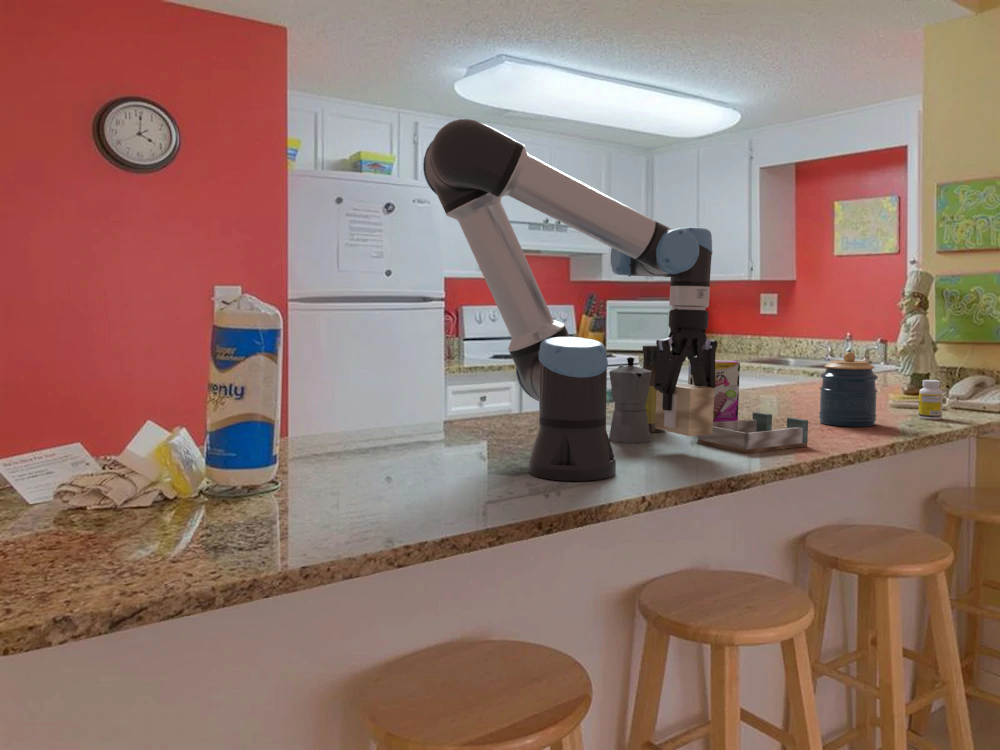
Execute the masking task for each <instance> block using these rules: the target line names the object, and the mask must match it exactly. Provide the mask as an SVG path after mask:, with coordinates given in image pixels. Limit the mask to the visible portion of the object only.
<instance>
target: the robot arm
mask: <svg viewBox="0 0 1000 750" xmlns="http://www.w3.org/2000/svg"><path fill="white" fill-rule="evenodd" d="M422 165H423V166H422V169H423V175H424V179H425V181H426V184H427V186H428V187H429V188H430V190H431V191H432V192H433V193H434V194H435V195H436V196H437V198H438V201H439V202H440V204H441V206H442V208H443V210H444V213H445V214H446V216H447V217H448V218H452V219H454V220H456V221H458V223H459V226H460V228H461V229H462V231H463V232H462V233H463V234H464V237H465V239H466V241H467V243H468V245H469V247H470V250H471V252H472V254H473V256H474V258H475V261H476V263H477V265H478V268H479V270H480V271H481V274H482V277H483V278H484V280H485V282H486V285H487V287H488V289H489V291H490V293H491V296H492V298H493V300H494V303H495V305H496V307H497V309H498V312H499V313H500V315H501V318H502V320H503V322H504V324H505V326H506V328H507V332H508V333H509V335H510V337H511V339H510V342H509V345H508V352H509V355H510V357H511V359H512V361H513V363H514V365H515V372H516V377H517V381H518V384H519V385H520V388H521V389H522V390H523V391H524V392H525V394H527V395H528V396H529V397H530V398H532V399H534V400H535V401H538V403H539V406H538V408H539V409H538V415H539V416H538V421H539V425H538V431H537V434H536V438H535V441H534V444H533V447H532V450H531V453H530V456H529V460H528V471H529V474H530V475H532V476H534V477H537V478H541V479H544V480H545V479H546V480H551V481H553V480H554V481H561V482H562V481H564V482H566V481H567V482H583V481H585V482H586V481H588V482H589V481H597V480H599V481H600V480H604V479H609V478H611V477H614V476H615V475H616V472H617V469H616V468H617V465H616V464H617V461H616V458H615V454H614V450H613V447H612V444H611V441H610V440H609V435H608V432H607V385H608V384H607V381H608V379H607V378H608V372H607V371H608V366H609V362H608V357H607V348H606V346H605V345H604V344H603V343H602V342H600V341H598V340H596V339H592V338H585V337H577V336H570V334H569V332H568V329H567V328H566V325H565V323H563V322H560V321H558V320H556V319H554V318H553V315H552V313H551V311H550V309H549V307H548V304H547V302H546V299H545V297H544V296H543V293H542V292H541V289H540V286H539V285H538V282H537V279H536V278H535V276H534V273H533V270H532V268H531V266H530V264H529V262H528V259H527V257H526V255H525V253H524V251H523V249H522V247H521V246H522V245H520V241H519V240H518V237H517V235H516V232H515V230H514V229H513V226H512V224H511V222H510V219H509V217H508V214H507V212H506V210H505V207H504V206H503V203H502V197H505V196H507V197H511V198H512V199H515V200H516V201H519V202H520V203H523V204H524V205H526V206H528V207H531V208H532V209H534V210H537V211H539V212H540V213H542V214H544V215H546V216H548V217H550V218H552V219H554V220H556V221H559V222H560V223H562V224H564V225H566V226H568V227H570V228H572V229H574V230H576V231H578V232H579V233H582V234H584V235H586V236H588V237H590V238H592V239H594V240H596V241H598V242H600V243H602V244H604V245H606V246H607V247H609V248H611V249H610V265H611V269H612V271H613V272H614V274H616V275H618V276H628V277H656V278H657V277H662V278H670V283H669V285H670V286H669V287H670V288H669V303H668V305H669V306H670V307H671V309H670V311H668V327H669V329H670V331H669V334H668V337H665V338H663V339H661V338H659V339H657V340H656V344H655V345H657V350H658V354H657V364H656V375H655V385H654V388H655V390H658V391H659V392H660V393H663V403H662V404H663V405H662V408H663V410H665V413H664V426H665V427H669V428H676V414H677V395H676V394H673V393H674V391H675V388H676V384H677V383H678V380H679V378H680V373H681V370H682V367H683V364H684V362H685V361H686V359H687V360H688V362H689V361H690V365H691V370H692V375H693V380H694V385H696V386H703V387H710V388H715V360H716V351H717V347H718V344H719V343H718V340H715V339H710V338H708V337H707V334H706V331H707V329H708V327H709V313H710V312H708V310H706V309H707V308H708V307H709V306H710V292H711V291H710V289H711V287H710V286H711V270H712V267H711V266H712V256H713V236H712V232H711V230H709V229H707V228H703V227H677V228H676V227H675V228H671V227H669V226H666V225H665V224H663V223H661V222H658V221H657V220H654V219H652V218H650V217H648V216H647V215H645V214H644V213H642V212H640V211H637V209H636V210H635V209H634V208H631V206H630V207H629V206H628V205H626V204H625V203H623V202H620V201H619V200H616V199H614V198H612V197H610V196H609V195H607V194H605V193H604V192H602V191H599V190H598V189H596V188H594V187H591V186H590V185H588V184H586V183H584V182H582V181H581V180H578V179H577V178H574V177H573V176H571V175H569V174H567V173H565V172H564V171H562V170H559V169H557V168H555V167H554V166H553V165H552V166H551V165H550V164H548V163H545V162H544V161H542V160H540V159H539V158H537V157H535V156H532V155H531V154H530V153H528V151H527V147H526V145H525V144H524V143H522V142H519V141H517V140H516V139H514V138H512V137H510V136H508V135H507V134H504V133H503V132H502V131H499V130H498V129H496V128H493V127H491V126H489V125H487V124H485V123H483V122H482V121H478V120H475V119H469V118H464V119H463V118H462V119H461V118H460V119H455V120H453V121H450V122H448V123H447V124H445V125H444V126H442V127H441V128H440V129H439V130H438V131H437V133H436V134H435V136H434V138H433V140H432V141H431V142H430V143H429V144H428V146H427V148H426V150H425V152H424V157H423V163H422Z"/></svg>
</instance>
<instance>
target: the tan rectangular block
mask: <svg viewBox="0 0 1000 750" xmlns="http://www.w3.org/2000/svg"><path fill="white" fill-rule="evenodd" d="M714 392H715V388H710V387H703V386H696V385H689V384H688V383H682V382H681V383H679V382H677V384H676V388H675V391H674V393H673V394H676V395H677V414H676V428H669V427H665V426H664V413H665V410H663V408H662V405H663V404H662V403H663V393H660V392H659V391H658V390H657V392H656V414H655V428H656V429H660V430H664V431H665V432H669V433H673V434H679V435H682V436H687V437H692V436H698V435H712V430H713V411H714ZM664 431H663V432H664Z"/></svg>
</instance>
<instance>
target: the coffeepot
mask: <svg viewBox="0 0 1000 750" xmlns="http://www.w3.org/2000/svg"><path fill="white" fill-rule="evenodd" d="M626 360H627V365H625V366H624V365H620V366H618V367H617V368H615V369H611V370H609V380H610V388H611V394H612V395H611V397H612V401H613V402H614V409H613V412H612V419H611V423H610V424H611V425H610V429H609V435H608V438H609V441H610V442H614V443H617V444H645V443H646V444H647V443H649V442H650V440H651V432H649V426H648V419H647V412H646V410H645V409H646V402H647V398H648V391H649V385H650V379H651V372H652V371H650V370H647V369H643V367H640V366H636V365H634V362H635V357H631V356H629V357H627V358H626Z"/></svg>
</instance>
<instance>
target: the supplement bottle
mask: <svg viewBox="0 0 1000 750" xmlns="http://www.w3.org/2000/svg"><path fill="white" fill-rule="evenodd" d="M940 386H941V380H937V379H923V380H922V388H920V389H919V392H918V418H919V419H922V420H929V421H930V420H933V421H937V420H942V418H943V409H944V408H943V402H944V401H943V400H944V391H943V390H942V389H941V388H940Z"/></svg>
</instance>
